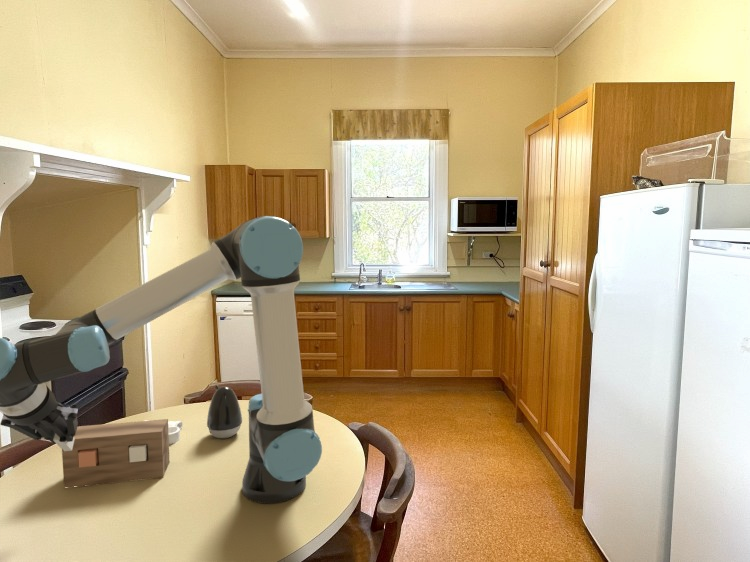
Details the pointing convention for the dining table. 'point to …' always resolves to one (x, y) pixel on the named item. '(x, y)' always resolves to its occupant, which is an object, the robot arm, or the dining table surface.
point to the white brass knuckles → (174, 431)
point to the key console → (118, 453)
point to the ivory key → (138, 452)
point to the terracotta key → (88, 457)
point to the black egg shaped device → (224, 413)
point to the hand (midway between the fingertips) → (69, 444)
